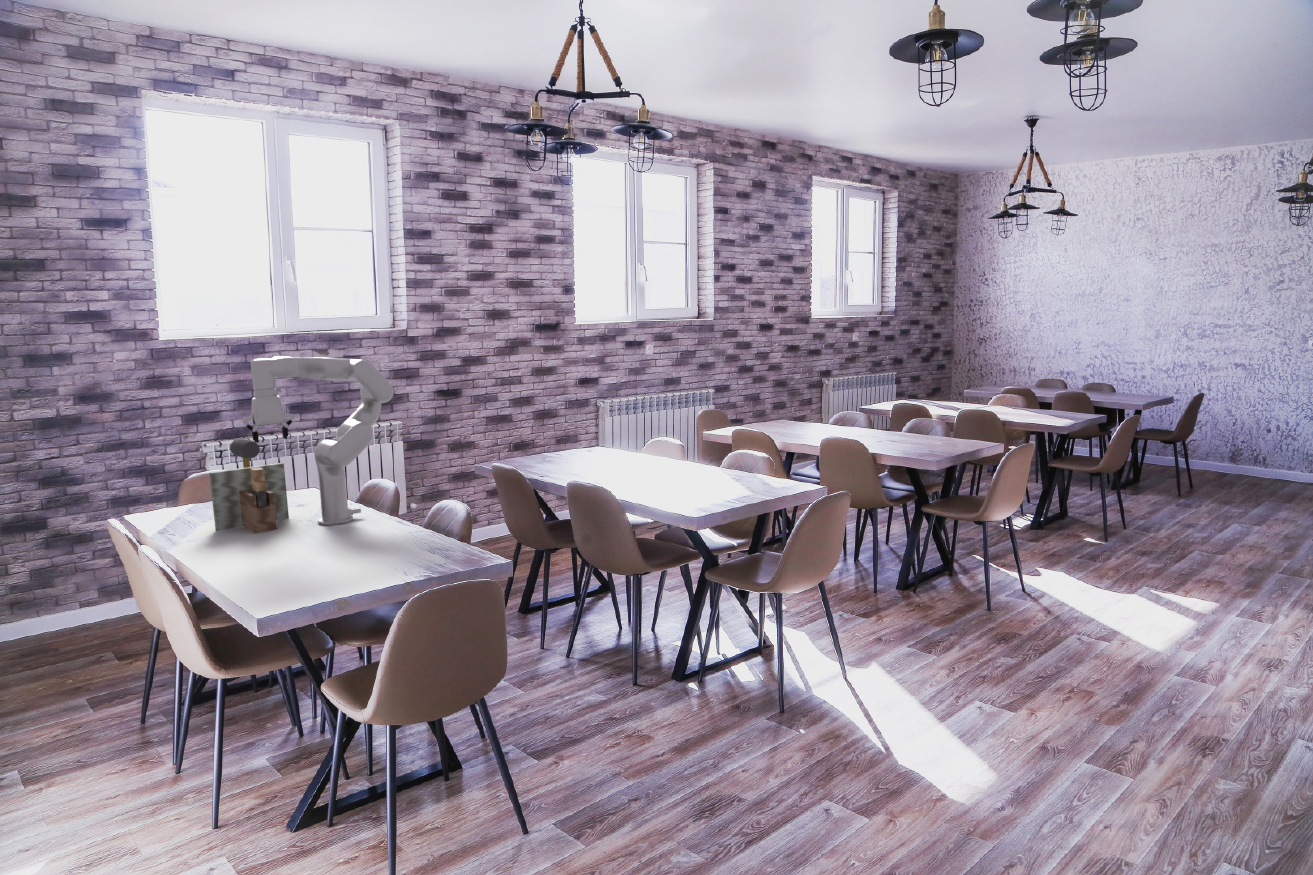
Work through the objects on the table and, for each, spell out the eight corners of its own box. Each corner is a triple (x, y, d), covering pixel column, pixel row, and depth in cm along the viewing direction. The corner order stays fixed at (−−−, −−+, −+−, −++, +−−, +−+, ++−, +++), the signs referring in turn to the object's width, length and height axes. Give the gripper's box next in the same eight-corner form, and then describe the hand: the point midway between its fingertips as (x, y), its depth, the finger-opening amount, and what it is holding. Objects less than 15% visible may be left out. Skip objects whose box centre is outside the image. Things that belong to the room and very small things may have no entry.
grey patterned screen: (287, 517, 334) (281, 462, 330) (301, 524, 322) (296, 467, 319) (215, 530, 317) (209, 472, 313) (228, 538, 305) (222, 478, 301)
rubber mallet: (267, 512, 343) (260, 439, 339) (249, 516, 338) (241, 441, 333) (253, 508, 351) (246, 436, 347) (235, 512, 346) (227, 439, 341)
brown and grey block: (262, 504, 318) (259, 467, 316) (267, 506, 314) (263, 468, 312) (253, 505, 316) (250, 468, 314) (258, 507, 312) (254, 470, 310)
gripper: (288, 390, 311) (293, 436, 314) (236, 395, 301) (242, 442, 303) (293, 391, 305) (299, 438, 308) (242, 396, 295) (247, 445, 298)
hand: (271, 440), depth 306 cm, fingers open, 9 cm apart
